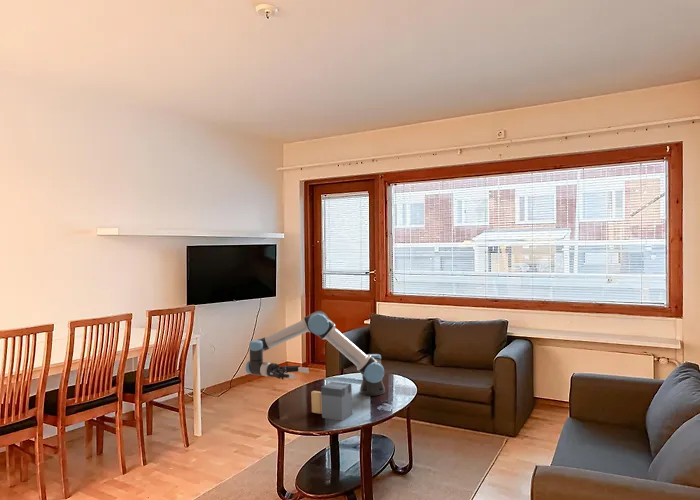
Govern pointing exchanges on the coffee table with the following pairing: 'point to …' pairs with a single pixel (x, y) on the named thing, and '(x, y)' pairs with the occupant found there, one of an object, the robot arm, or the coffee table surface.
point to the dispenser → (336, 400)
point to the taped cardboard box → (316, 402)
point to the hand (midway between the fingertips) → (301, 373)
